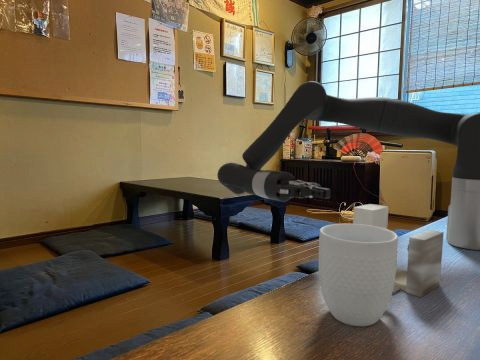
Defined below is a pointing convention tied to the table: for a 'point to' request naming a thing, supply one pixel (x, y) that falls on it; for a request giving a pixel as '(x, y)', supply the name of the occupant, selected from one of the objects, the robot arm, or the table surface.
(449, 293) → the table surface
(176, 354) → the table surface
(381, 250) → the mug
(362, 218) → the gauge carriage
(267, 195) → the robot arm
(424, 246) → the gauge base
